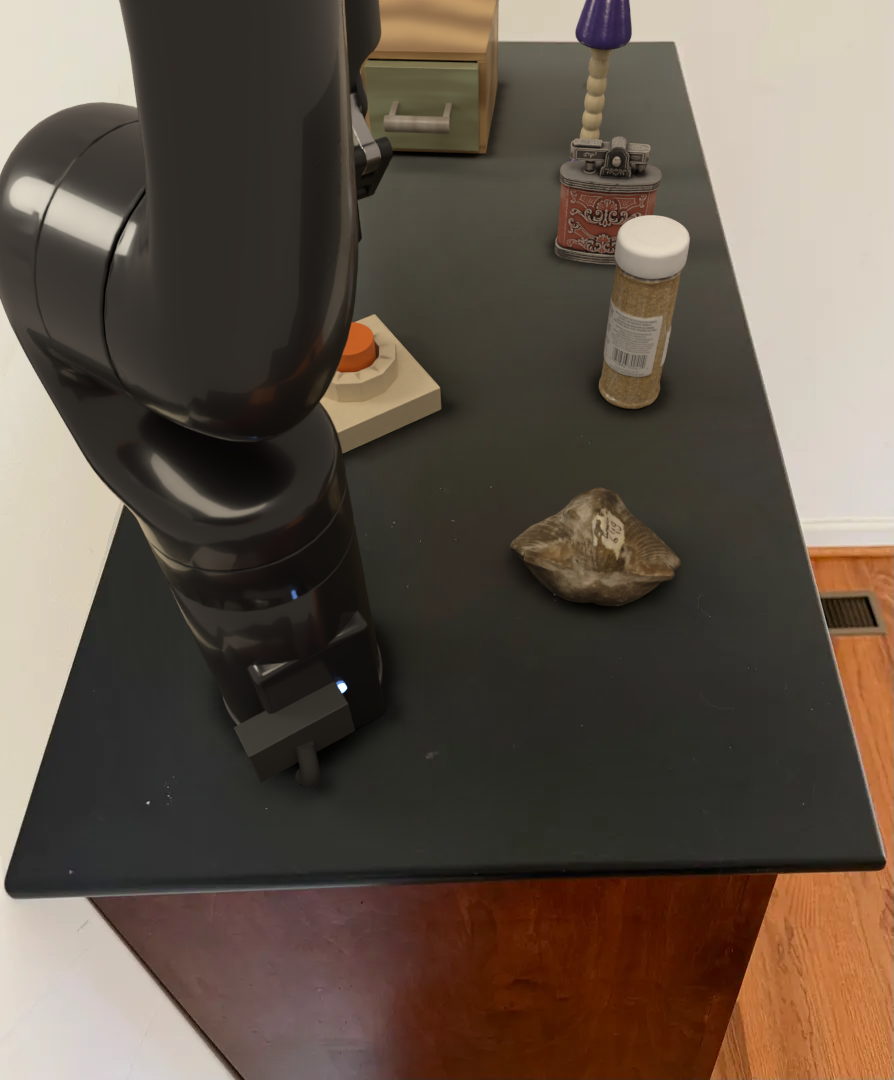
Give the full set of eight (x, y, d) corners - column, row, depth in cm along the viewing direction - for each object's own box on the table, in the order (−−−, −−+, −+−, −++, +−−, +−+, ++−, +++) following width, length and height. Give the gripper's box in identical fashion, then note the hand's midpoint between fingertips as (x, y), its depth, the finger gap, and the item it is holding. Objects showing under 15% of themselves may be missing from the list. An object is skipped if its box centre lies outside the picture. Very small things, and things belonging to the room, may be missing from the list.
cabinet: (485, 153, 89) (486, 52, 81) (369, 150, 90) (358, 49, 82) (497, 86, 97) (498, -12, 89) (390, 83, 98) (382, -14, 90)
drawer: (474, 175, 85) (473, 91, 79) (364, 171, 86) (355, 88, 80) (490, 88, 95) (490, 8, 89) (392, 85, 96) (385, 6, 90)
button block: (441, 409, 67) (439, 368, 64) (333, 458, 65) (325, 418, 61) (377, 335, 73) (372, 294, 69) (275, 378, 70) (265, 337, 67)
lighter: (649, 244, 79) (667, 132, 71) (647, 267, 77) (666, 155, 69) (556, 237, 80) (564, 127, 72) (552, 260, 78) (560, 149, 70)
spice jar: (670, 387, 68) (705, 229, 57) (636, 421, 66) (665, 263, 55) (619, 361, 70) (643, 203, 59) (584, 393, 68) (603, 235, 57)
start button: (384, 361, 65) (382, 343, 64) (340, 380, 64) (337, 361, 63) (361, 334, 67) (358, 315, 66) (317, 352, 66) (314, 333, 65)
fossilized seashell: (489, 580, 55) (644, 652, 53) (529, 484, 52) (694, 557, 50) (518, 539, 61) (656, 601, 60) (554, 452, 59) (700, 515, 57)
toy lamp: (609, 163, 87) (632, -30, 74) (617, 190, 84) (642, -5, 71) (559, 166, 87) (573, -26, 74) (566, 193, 84) (581, -2, 71)
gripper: (429, -24, 45) (441, 273, 58) (311, -101, 52) (347, 180, 66) (291, 14, 43) (337, 314, 56) (188, -71, 50) (251, 213, 63)
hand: (342, 241), depth 61 cm, fingers closed
